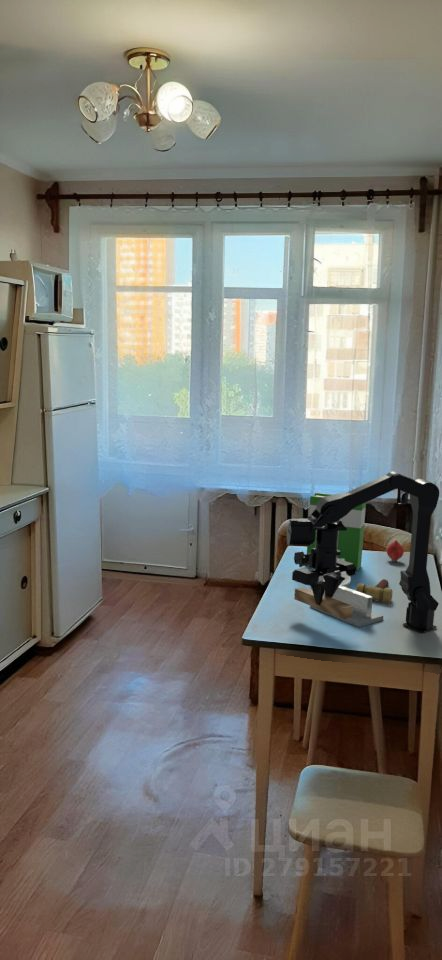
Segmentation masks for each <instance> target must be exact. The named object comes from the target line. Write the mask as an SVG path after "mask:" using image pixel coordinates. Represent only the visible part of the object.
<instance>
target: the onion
mask: <svg viewBox="0 0 442 960" xmlns="http://www.w3.org/2000/svg"><path fill="white" fill-rule="evenodd" d="M398 541H399V540H398V539H395V540H394V541H393V542H391V543H390V544H389V545H388V546H387V548H386V554H387V557H388V558H389V559H391V561H392V562H394V561H395V562H397V561H398V560H399V559H402V557H403V555H404V547H403V546H402V544H401V543H399V542H398Z"/></svg>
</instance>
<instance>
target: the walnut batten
mask: <svg viewBox="0 0 442 960" xmlns="http://www.w3.org/2000/svg"><path fill="white" fill-rule="evenodd" d="M293 599H294V600H296V601H298V602H301V603H302V604H305V605H307V606H309V607H310V606H312V607H315V608H317V609H320V610H322V611H325V612H327V613H330V614H332V615H335V616H337V617H339V618H342V619H348V618H351V617H352V616H353V606H352V605H349V604H347V603H344V602H341V601H339V600H336V599H334V598H331V597H328V596H326V595H323V598H322V601H321V604H320V605H317V604H316V601H315V598H314V595H313V591H312V589H309V588H307V587H305V586H301V587H300V586H299V587H297V588H294V598H293Z"/></svg>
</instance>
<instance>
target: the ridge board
mask: <svg viewBox="0 0 442 960" xmlns="http://www.w3.org/2000/svg"><path fill="white" fill-rule="evenodd" d="M309 607H310V608H311V609H314V610H315V611H318V612H321V613H323V614H326V615H328V616H331V617H334V618H336V619H338V620H341V621H343V622H346V623H348V624H350V625H353V626H355V627H357V628H360V627H361V628H362V627H364V626H368V625H370V624H373V623H377V622H380V621H383V620H384V615H383V614H380V613H377V612H376V611H372V612H371V618H367V619H366V618H363V617H360V616H358V615H355V614H353V616H352V617H351V618H348V619H342V618H339V617H337V616H335V615H332V614H330V613H327V612H325V611H322V610H320V609H317V608H315V607H312V606H310V605H309Z"/></svg>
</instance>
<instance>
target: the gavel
mask: <svg viewBox="0 0 442 960" xmlns="http://www.w3.org/2000/svg"><path fill="white" fill-rule="evenodd" d="M389 585H390V583H389V580H387V579H385V578H384V579H381V581H379V582H378V583H377V584H376V585H375V586H372V585H371V586H370V585H366V584H365V583H357V585H356V589H355V591H358V592H361V593H363V594H366V595H369V596H372V597H373V600H372V601H375V602H382V603H383V604H388V605H389V604H391V603H392V600H393V589H392V588H388V586H389Z"/></svg>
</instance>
